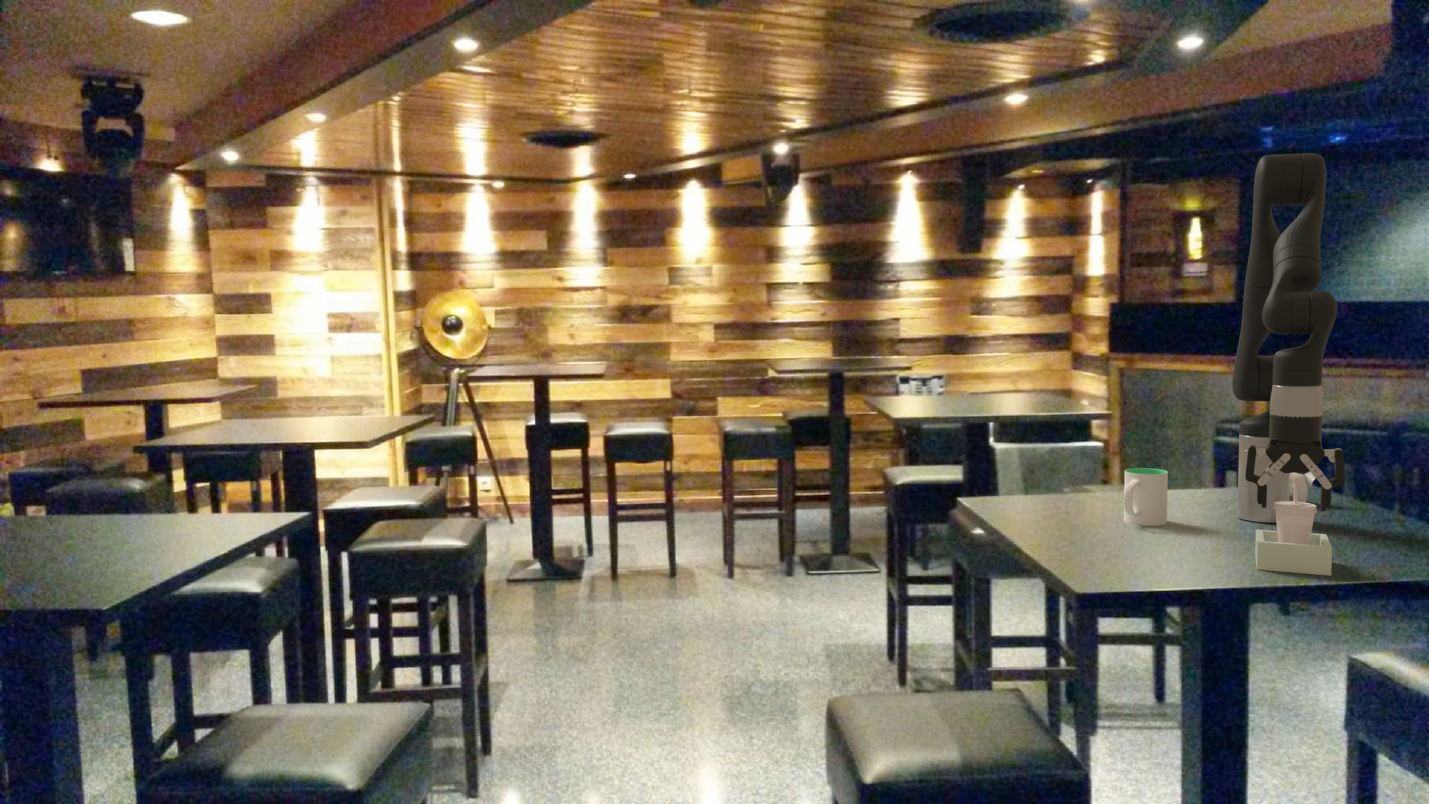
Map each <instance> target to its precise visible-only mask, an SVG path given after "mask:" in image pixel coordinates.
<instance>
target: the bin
mask: <svg viewBox="0 0 1429 804" xmlns="http://www.w3.org/2000/svg"><path fill="white" fill-rule="evenodd" d="M1254 546H1255V553H1254V557H1255V563H1256V564H1255V565H1256V570H1262V571H1270V572H1271V571H1272V572H1281V573H1283V572H1284V573H1295V574H1307V575H1308V574H1309V575H1316V576H1317V575H1318V576H1319V575H1320V576H1330V577H1331V576H1332V562H1333V561H1332V560H1333V546H1332V545H1331V542H1330V540H1329V538H1328V535H1327V534H1326V533H1325V534H1324V533H1314V532H1313V533H1312V532H1311V537H1310V542H1309V545H1308V544H1294V543H1281V542H1279V541H1278V532H1277V530H1270V529H1269V530H1268V529H1255V545H1254Z"/></svg>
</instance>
